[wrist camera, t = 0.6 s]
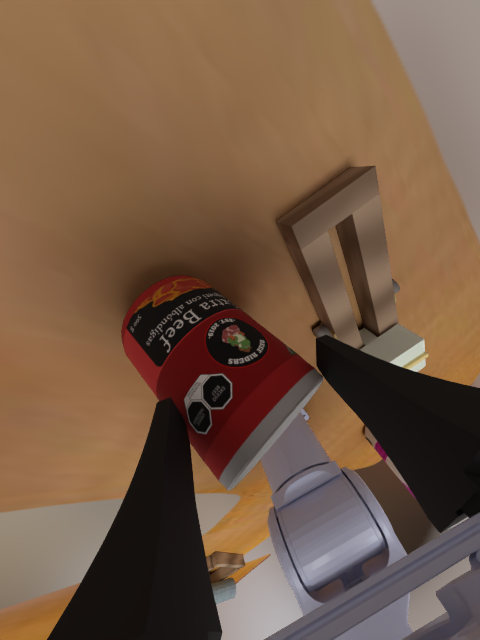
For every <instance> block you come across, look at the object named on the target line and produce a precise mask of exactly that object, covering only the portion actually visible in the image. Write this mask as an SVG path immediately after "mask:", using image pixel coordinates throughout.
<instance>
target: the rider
mask: <svg viewBox="0 0 480 640" xmlns="http://www.w3.org/2000/svg"><path fill="white" fill-rule="evenodd" d="M359 333H360V336H361V339H362V343H363V346H364V347H363V348H362V349H360V350H361V351H363V352H365V353H367V354H370V355H372V356H374V357H377V358H379V359H382V360H384V361H387V362H389V363H392V364H394V365H397V366H400V367H403V368H406V369H409V370H412V371H415V372H417V371H419V370H420V369H422V368H423V367H425V366H426V365H425V358H427V357H428V353H427V352H425V344H424V339H423V338H422V337H420V336H418V335H417V334H415V333H413V332H411V331H410V330H408V329H406V328H405V327H403V326H401V325H400V324H397V325H395V326H394V327H392V328H391V329H389V330H388V331H387V332H385V333H384V334H382V335H381V336H379V337H377V336H375V335H374V334H373V333H371V332H370V331H368V330H367V329H365V328H363V329H362V330H360V331H359Z"/></svg>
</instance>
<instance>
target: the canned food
mask: <svg viewBox="0 0 480 640" xmlns="http://www.w3.org/2000/svg"><path fill="white" fill-rule="evenodd" d="M121 333H122V342H123V346H124V350H125V353H126V355H127V357H128V358H129V360H130V361H131V362H132V364H133V365H134V366H135V368H136V369H137V371H138V372H139V373H140V375H141V376H142V377H143V379H144V380H145V382H146V383H147V384H148V386H149V387H150V388H151V390H152V391H153V392H154V394H155V395H156V397H157V398H158V399H159V401H162V400H164V399H167V398H169V397H171V399H172V400H173V402H174V403H175V405H176V407H177V408H178V410H179V412H180V413H181V415H182V416H183V419H184V421H185V424H186V427H187V431H188V436H189V441H190V443H191V445H192V446H193V447H194V449H195V450H196V451H197V453H198V454H199V456H200V457H201V458H202V460H203V461H204V462H205V464H206V465H207V466H208V467H209V468H210V470H211V471H212V472H213V474H214V475H215V476H216V478H217V479H218V481H219V482H220V483H222V484H223V485H224V486H225V488H226V489H227V490H231V489H233V488H234V487H235V486H236V485H237V484H238V483H239V482H240V481H241V480H242V479H243V478H244V477H245V476H246V475H247V474H248V473H249V471H250V470H251V469H252V468H253V467H254V466H255V465H256V464H257V462H258V461H259V460H260V459H261V458H262V457H263V456H264V454H265V453H266V452H267V451H268V450H269V449H270V448H271V446H272V445H273V444H274V443H275V442H276V440H277V439H278V438H279V437H280V436H281V435H282V433H283V432H284V431H285V430H286V429H287V427H288V426H289V425H290V424H291V422H292V421H293V420H294V419H295V418H296V416H297V415H298V414H299V413H300V411H301V410H302V409H303V408H304V406H305V405H306V404H307V402H308V401H309V400H310V399H311V397H312V396H313V395H314V393H315V392H316V391H317V389H318V388H319V386H320V385H321V383H322V381H323V376H322V375H321V374H319V373H318V371H317V370H316V369H315V368H314V367H313V366H311V365H310V364H309V363H307V362H306V361H305V360H304V359H303V358H302V357H301V356H299V355H298V354H297V353H295V352H294V351H293V350H292V349H290V348H289V347H288V346H287V345H285V344H284V343H283V342H281V341H280V340H279V339H278V338H276V337H275V336H274V335H273V334H271V333H270V332H269V331H267V330H266V329H265V328H264V327H262V326H261V325H260V324H259V323H257V322H256V321H255V320H253V319H252V318H251V317H250V316H248V315H247V314H246V313H245V312H243V311H242V310H241V309H239V308H238V307H237V306H236V305H234V304H233V303H232V302H231V301H229V300H228V299H227V298H225V297H224V296H223V295H222V294H220V293H219V292H218V291H217V290H215V289H214V288H213V287H211V286H210V285H209V284H207V283H206V282H205V281H203V280H200V279H197V278H194V277H190V276H184V275H178V276H173V277H169V278H166V279H163V280H161V281H159V282H157V283H156V284H154V285H152V286H151V287H149V288H148V289H147V290H146V291H144V292H143V293H142V294H141V295H140V296H139V297H138V298H137V299H136V300H135V301H134V303H133V304H132V306H131V307H130V309H129V310H128V312H127V314H126V316H125V319H124V321H123V325H122V330H121Z"/></svg>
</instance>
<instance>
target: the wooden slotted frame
mask: <svg viewBox="0 0 480 640" xmlns="http://www.w3.org/2000/svg"><path fill="white" fill-rule="evenodd" d="M276 222H277V224H278V227H279V229H280V231H281V233H282V235H283V238H284V240H285V242H286V244H287V247H288V249H289V251H290V253H291V256H292V258H293V260H294V262H295V264H296V267H297V269H298V271H299V273H300V276H301V278H302V280H303V282H304V285H305V287H306V289H307V291H308V293H309V296H310V298H311V300H312V302H313V305H314V307H315V309H316V311H317V314H318V316H319V318H320V320H321V323H320V325H319V326H318V327H316V328H315V329H313V333H314V334H315V336H316V337H317V338H319V337H321V336H324V335H328V336H331V337H333V338H335V339H337V340H339V341H341V342H343V343H345V344H348V345H350V346H352V347H354V348H356V349H358V350H360V349H362V348H363V347H364V346H363V343H362V339H361V336H360V333H359V330H358V327H357V323H356V320H355V317H354V314H353V311H352V307H351V304H350V301H349V298H348V295H347V291H346V288H345V285H344V282H343V279H342V275H341V272H340V269H339V266H338V263H337V259H336V256H335V253H334V250H333V247H332V243H331V240H330V237H329V234H328V230H330V229H331V228H333V227H334V226H335V225H336V228H337V232H338V235H339V239H340V242H341V246H342V249H343V253H344V257H345V260H346V264H347V267H348V271H349V274H350V278H351V281H352V285H353V288H354V292H355V295H356V299H357V302H358V306H359V309H360V313H361V316H362V320H363V323H364V327H365V329H367V330H368V331H370V332H371V333H373V334H374V335H375V336H377V337H379V336H381V335H382V334H384V333H385V332H387V331H388V330H389V329H391V328H392V327H394V326H395V325H397V324H398V317H397V310H396V303H395V302H396V301H397V300H396V293H397V292H398V291H399V290H400V288H399V285H398V284H397V282H396V281H394V280H393V279H392V276H391V269H390V262H389V256H388V249H387V242H386V235H385V228H384V222H383V215H382V208H381V201H380V194H379V188H378V181H377V174H376V167H375V166H366V167H350V168H349V169H347V170H346V171H345V172H343V173H342V174H341V175H339V176H338V177H336V178H335V179H334V180H332V181H331V182H330V183H328V184H327V185H325V186H324V187H323V188H321V189H320V190H318V191H317V192H316V193H314V194H313V195H312V196H310V197H309V198H307V199H306V200H305V201H303V202H302V203H301V204H299V205H298V206H296V207H295V208H294V209H292V210H291V211H290V212H288V213H287V214H285V215H284V216H283V217H281V218H280V219H279V220H277V221H276Z"/></svg>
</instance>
